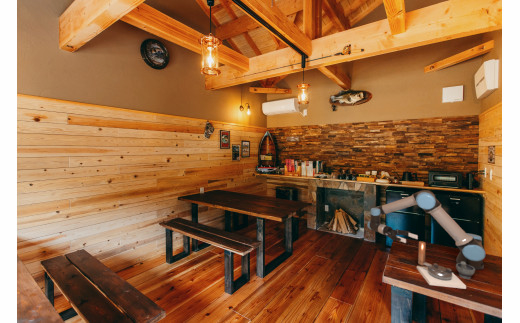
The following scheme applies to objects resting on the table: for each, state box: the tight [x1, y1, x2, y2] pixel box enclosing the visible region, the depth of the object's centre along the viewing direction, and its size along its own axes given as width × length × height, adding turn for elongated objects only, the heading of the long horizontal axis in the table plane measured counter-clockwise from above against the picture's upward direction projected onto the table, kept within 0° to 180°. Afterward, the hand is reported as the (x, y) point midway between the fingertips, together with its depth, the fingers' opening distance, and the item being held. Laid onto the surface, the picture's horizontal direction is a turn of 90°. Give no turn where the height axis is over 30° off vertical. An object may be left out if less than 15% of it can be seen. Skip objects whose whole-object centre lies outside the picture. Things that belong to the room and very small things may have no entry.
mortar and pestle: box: [455, 261, 476, 280], centre depth 158 cm, size 11×9×12 cm
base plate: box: [416, 265, 467, 290], centre depth 157 cm, size 20×20×2 cm
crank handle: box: [417, 240, 453, 281], centre depth 159 cm, size 20×13×19 cm, turn 33°
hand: (411, 239), depth 171 cm, fingers open, 13 cm apart
